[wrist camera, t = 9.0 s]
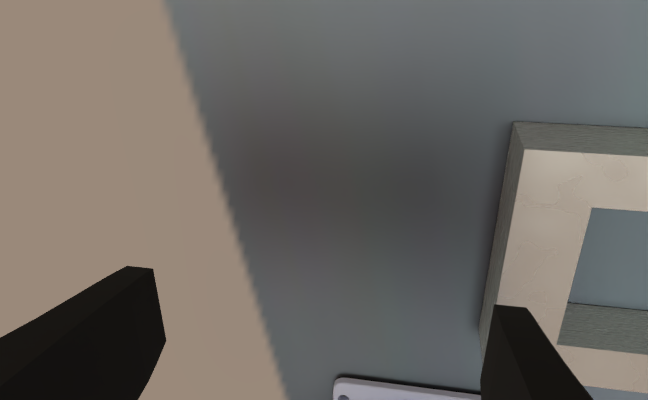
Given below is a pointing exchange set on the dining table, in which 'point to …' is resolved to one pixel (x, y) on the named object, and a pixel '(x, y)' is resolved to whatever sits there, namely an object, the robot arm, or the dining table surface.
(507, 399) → the robot arm
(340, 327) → the dining table surface
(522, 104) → the dining table surface
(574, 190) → the rail
